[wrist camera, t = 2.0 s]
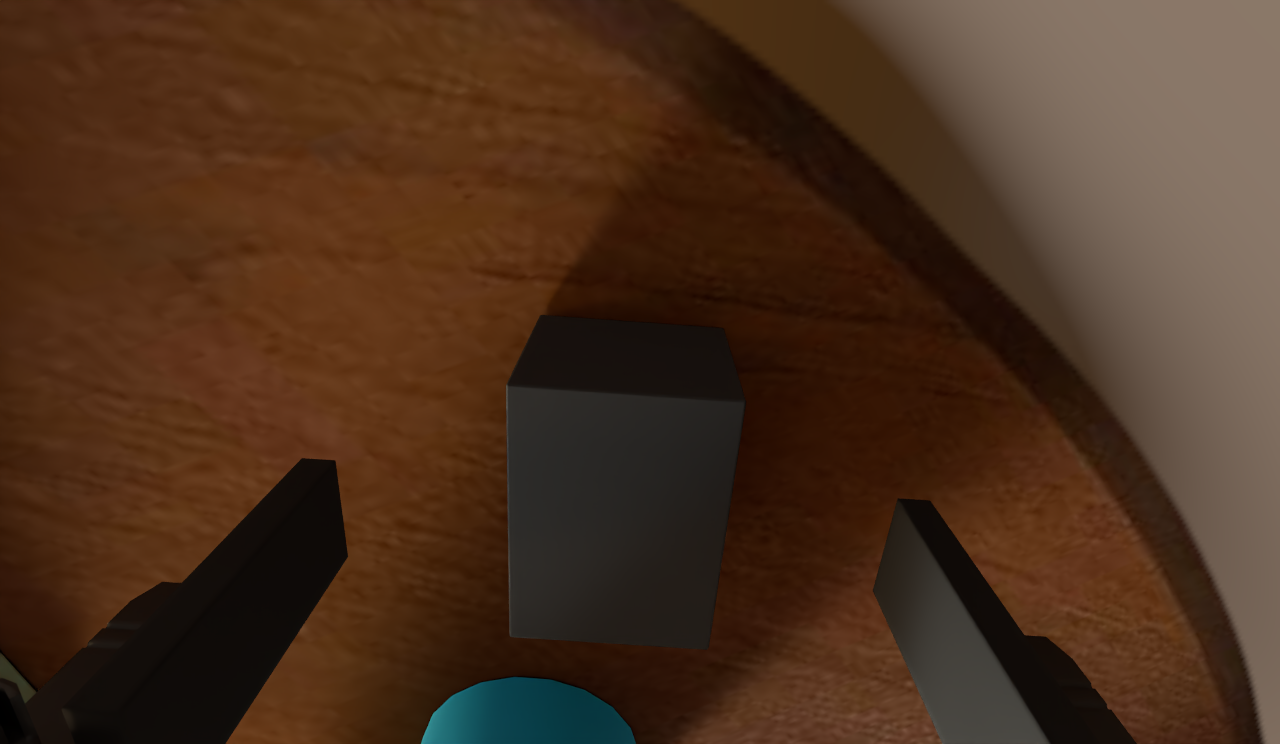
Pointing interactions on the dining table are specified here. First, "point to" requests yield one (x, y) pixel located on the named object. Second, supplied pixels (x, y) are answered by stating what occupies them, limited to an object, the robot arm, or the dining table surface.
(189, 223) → the dining table surface
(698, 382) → the dark grey block
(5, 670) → the dock
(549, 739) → the mug
